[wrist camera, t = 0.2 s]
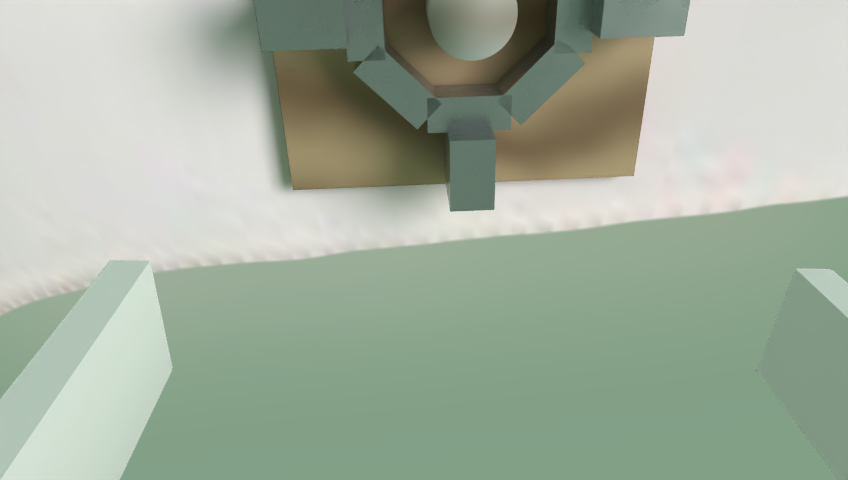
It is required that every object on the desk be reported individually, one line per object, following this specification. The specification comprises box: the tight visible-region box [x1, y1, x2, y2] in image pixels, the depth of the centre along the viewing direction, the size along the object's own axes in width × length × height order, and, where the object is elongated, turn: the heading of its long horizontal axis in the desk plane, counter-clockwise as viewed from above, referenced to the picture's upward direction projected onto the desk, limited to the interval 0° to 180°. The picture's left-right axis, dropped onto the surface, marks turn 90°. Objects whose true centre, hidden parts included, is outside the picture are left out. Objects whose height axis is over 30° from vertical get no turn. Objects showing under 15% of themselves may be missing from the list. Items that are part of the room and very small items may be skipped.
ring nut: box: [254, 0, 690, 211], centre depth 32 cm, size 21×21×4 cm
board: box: [273, 0, 654, 190], centre depth 33 cm, size 22×22×6 cm
